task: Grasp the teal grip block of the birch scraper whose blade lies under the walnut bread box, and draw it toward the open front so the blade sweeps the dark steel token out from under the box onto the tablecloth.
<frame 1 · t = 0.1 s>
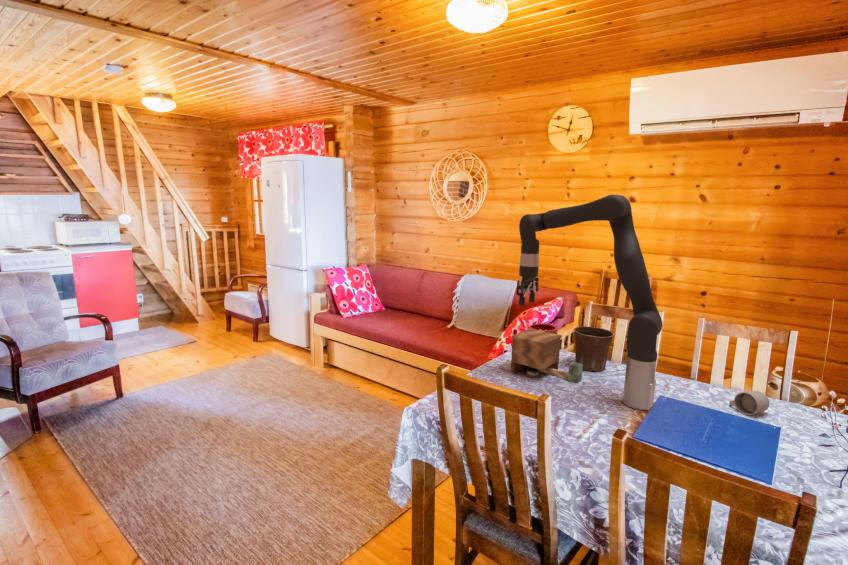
hand: (526, 304, 181), 29 cm above the table, fingers open, 8 cm apart
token: (532, 376, 183), on the table
scraper: (574, 380, 178), on the table
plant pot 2: (541, 350, 215), on the table
ceramic mug: (746, 411, 155), on the table
plant pot: (590, 367, 194), on the table
bread box: (534, 372, 186), on the table
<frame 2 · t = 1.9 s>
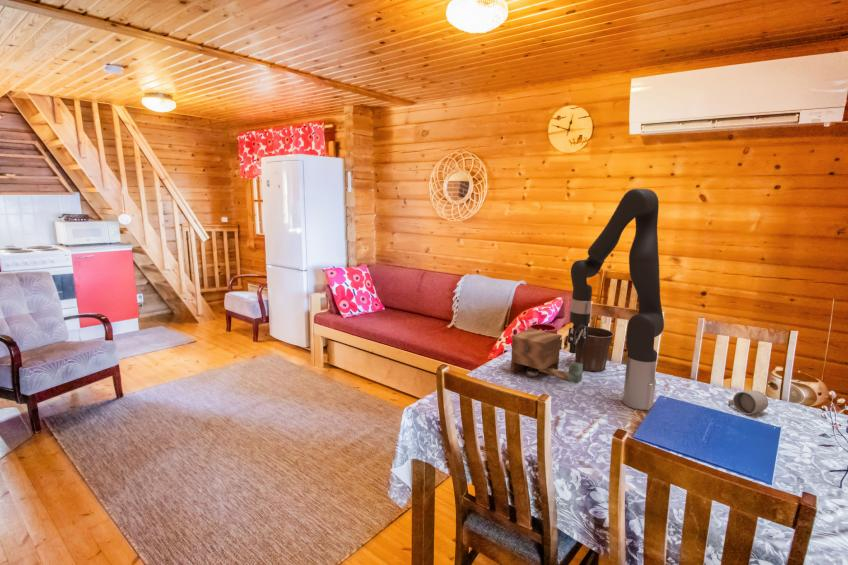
hand: (576, 350, 176), 13 cm above the table, fingers open, 8 cm apart
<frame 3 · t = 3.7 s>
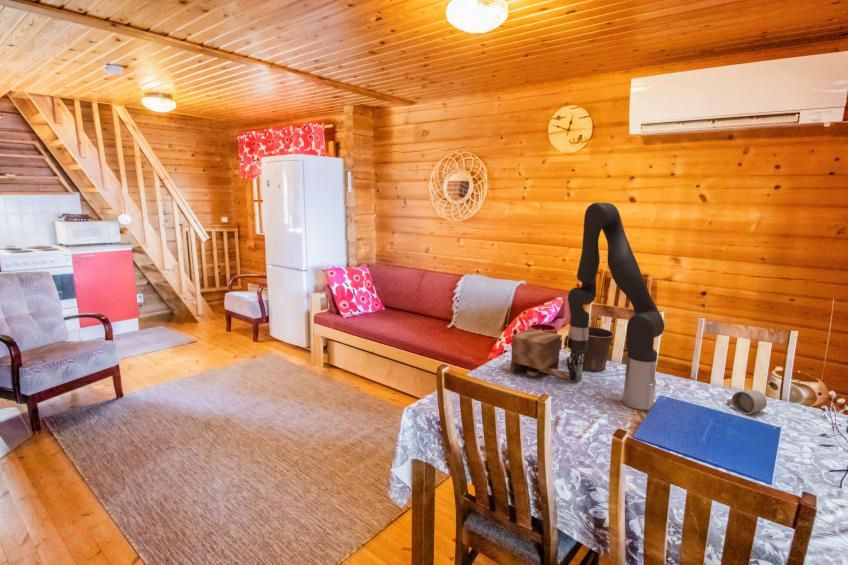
hand: (574, 378, 178), 1 cm above the table, fingers closed on scraper, 4 cm apart
scraper: (574, 380, 178), on the table, touching gripper
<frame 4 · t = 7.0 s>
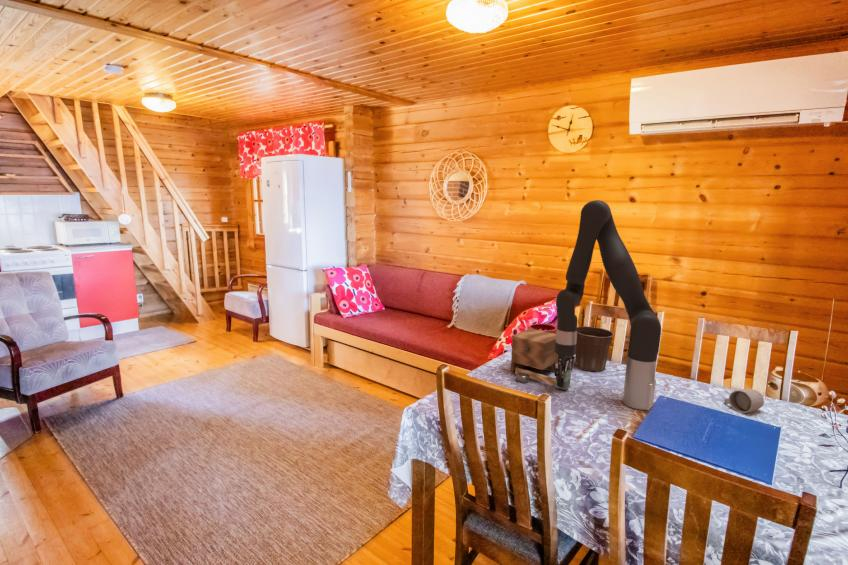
hand: (562, 384, 169), 2 cm above the table, fingers closed on scraper, 4 cm apart
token: (522, 380, 177), on the table, touching scraper
scraper: (562, 387, 169), point 1 cm above the table, touching gripper, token
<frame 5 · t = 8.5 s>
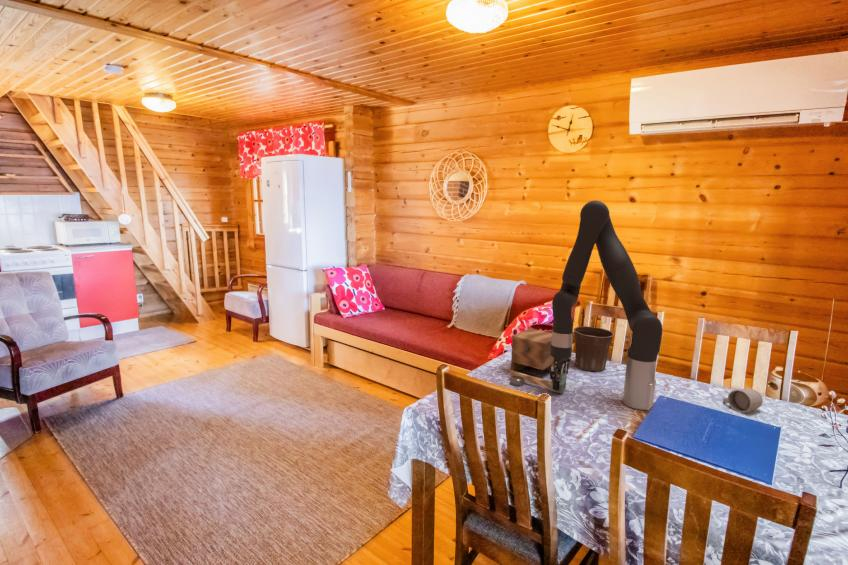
hand: (558, 387, 166), 2 cm above the table, fingers closed on scraper, 4 cm apart
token: (516, 384, 174), on the table
scraper: (558, 390, 166), point 1 cm above the table, touching gripper
when the fingers open (1 cm above the table, at t = 9.4 s): scraper stays where it is, on the table.
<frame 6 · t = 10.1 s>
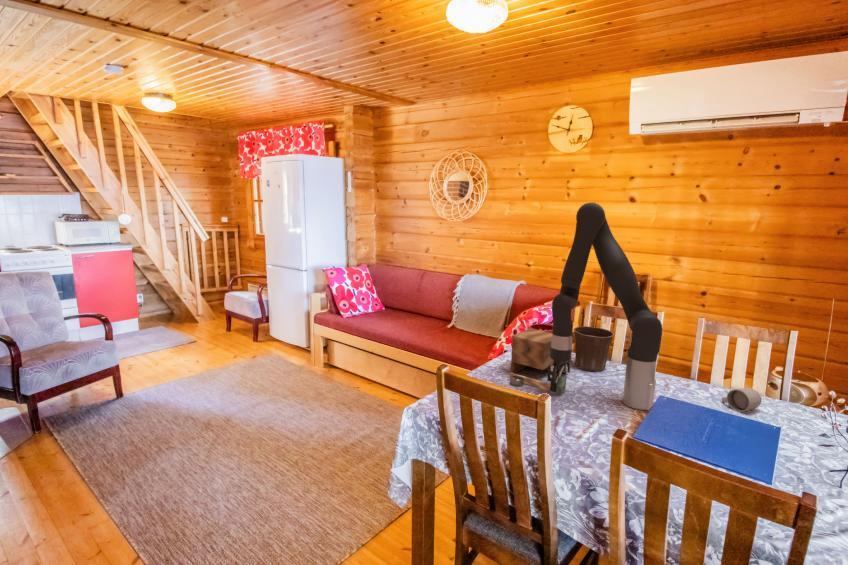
hand: (558, 388, 166), 2 cm above the table, fingers open, 8 cm apart
scraper: (557, 392, 166), on the table
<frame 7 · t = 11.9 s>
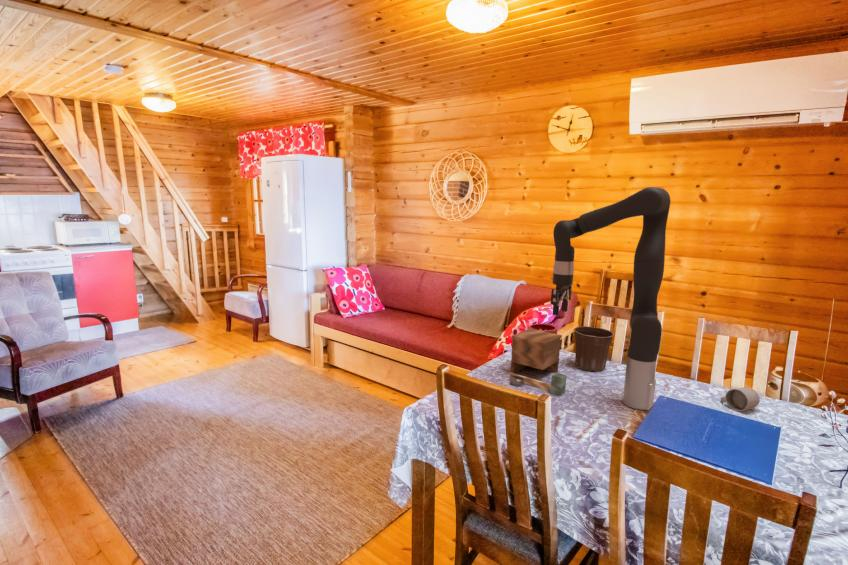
hand: (559, 313, 175), 27 cm above the table, fingers open, 8 cm apart
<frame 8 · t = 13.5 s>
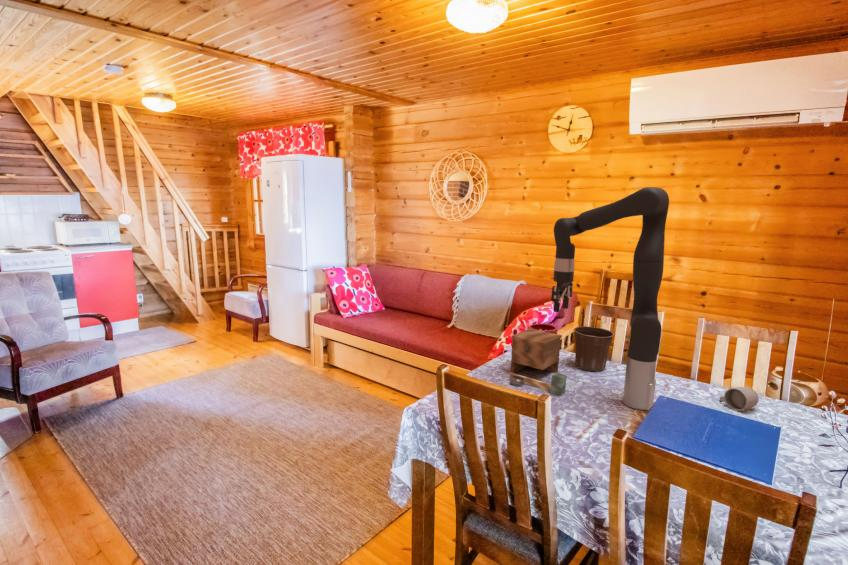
hand: (560, 310, 177), 28 cm above the table, fingers open, 8 cm apart
at the end: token inside the target area (4.9 cm from its centre), on the table; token tilted 0°; the gripper is holding nothing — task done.
